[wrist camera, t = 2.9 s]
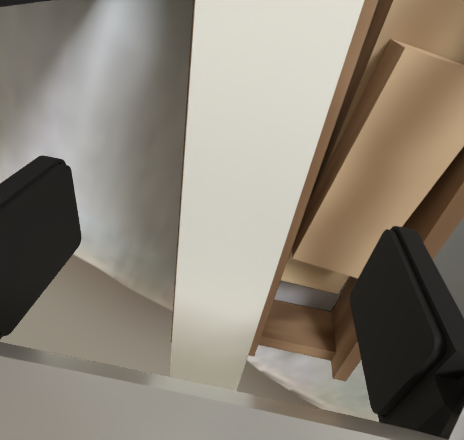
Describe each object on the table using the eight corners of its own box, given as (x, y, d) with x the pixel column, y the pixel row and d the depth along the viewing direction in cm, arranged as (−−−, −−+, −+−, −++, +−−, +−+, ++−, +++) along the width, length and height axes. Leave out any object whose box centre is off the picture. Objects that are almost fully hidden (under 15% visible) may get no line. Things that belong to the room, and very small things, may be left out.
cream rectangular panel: (357, -168, 13) (598, -718, 3) (253, 243, 26) (228, 416, 16) (283, -181, 13) (248, -760, 3) (216, 235, 26) (167, 402, 16)
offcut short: (483, 70, 15) (511, 83, 13) (355, 253, 22) (361, 279, 20) (390, 38, 15) (405, 48, 13) (292, 234, 22) (292, 258, 20)
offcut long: (566, -169, 13) (630, -203, 10) (334, 266, 27) (338, 294, 25) (451, -195, 13) (488, -235, 10) (281, 253, 27) (279, 280, 25)
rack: (810, -511, 9) (1355, -1024, 4) (337, 322, 30) (345, 381, 26) (279, -585, 9) (267, -1127, 5) (188, 290, 31) (170, 342, 26)
